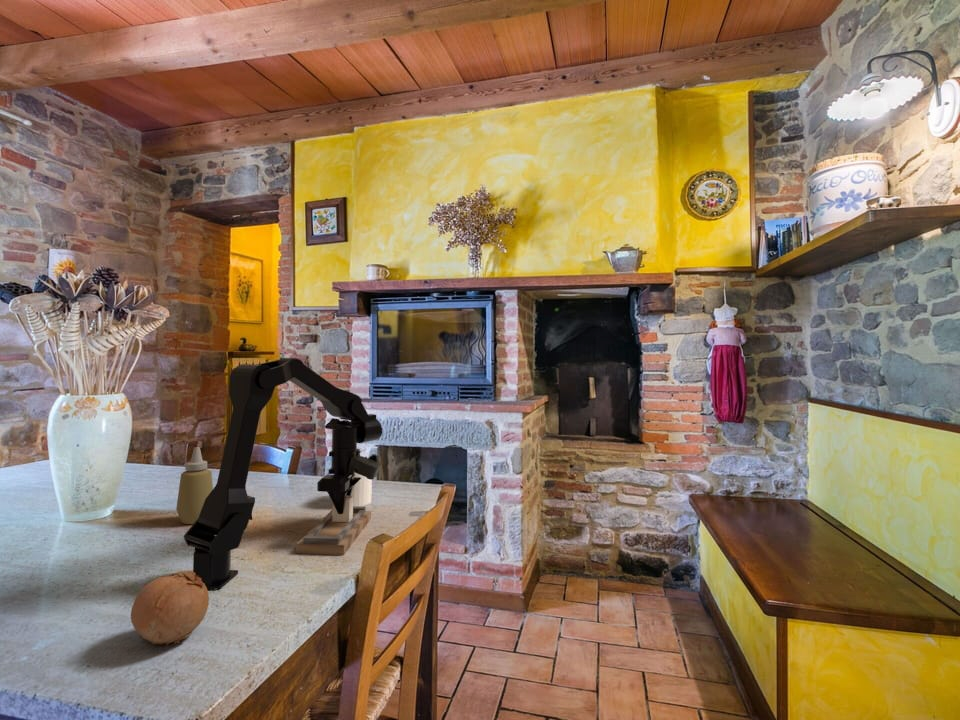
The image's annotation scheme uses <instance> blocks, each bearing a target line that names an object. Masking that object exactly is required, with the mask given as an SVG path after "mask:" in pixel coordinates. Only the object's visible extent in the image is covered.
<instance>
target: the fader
mask: <svg viewBox="0 0 960 720" xmlns="http://www.w3.org/2000/svg"><path fill="white" fill-rule="evenodd" d="M352 518H353V496H346V501H345V507H344V512H343V514H338V512H337V510H336V508H335V506H334V504H333V503H332V522H350V521H351V519H352Z"/></svg>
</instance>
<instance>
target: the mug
mask: <svg viewBox="0 0 960 720" xmlns="http://www.w3.org/2000/svg"><path fill="white" fill-rule="evenodd" d="M354 475H356V477H359V478H361V479H360V480H359V481H358V482H357V483H356V484H355V485H354V487H353V491H352V494H351V496H353V506H357V507H367V506H369V505H370V504H371V503H372V493H373V492H372V491H373V490H372V489H373V486H372V485H373V483H372V482H373V480H370V479H367V478H366V477H365V476H362V475H360V474H357V473H354Z"/></svg>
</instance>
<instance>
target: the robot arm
mask: <svg viewBox="0 0 960 720" xmlns="http://www.w3.org/2000/svg"><path fill="white" fill-rule="evenodd" d="M289 381H290V382H291V383H293V384H294V385H296V386H297V387H299V389H302V390H303V391H305V392H306V393H308V394H309V395H310V396H313V397H314V398H315V399H317V400H318V401H319V402H320V403H321V404H322V405H321V406H322V407H323V409H324V410H325V411H326V413H328V414H329V415H331V416H332V417H334V418H331V419H330V421H329V422H327V423H326V424H325V425H324V428H325V429H327V430H331V431H332V432H331V436H332V437H331V450H330V451H328V457H331V466H330V467H331V468H329V469H328V474H326V475H324V476H323V477H322V478H320V480H318V481H317V487H316V490H317V492H324V493H325V492H326V493H327V495H328V496H329V498H330V499H331V502H332V505H333V504H334V506H335V508H336V510H337V512H338V514H343V512H344V507H345V501H346V496H351V494H352V491H353V487H354V485H355V484H356V483H357V482H358V481H359V480H360V479H361V478H359V477H356V475H354V473H357V474H360V475H362V476H365V477H366V478H367V479H370V480H372V481H373V480H374V479H375V478H376V477H377V475H378V473H379V471H380V468H381V465H382V463H381V461H380V459H379V455H377V454H374V453H373V454H371V455H370V456H369V457H367V456H363V455H361V450H360V449H359V448H358V446H357V445H358V444H364V443H369V442H374V441H377V440H379V439H380V438H381V437H382V435H383V427H382V425H381V422H380V421H379V420H378V419H377V414H373V413H368V412H367V410H366V409H365V406H364V404H363V403H362V401H363V400H362V397H360V395H358V394H356V393H353V392H351V391H348V390H345V389H342V388H339V387H336V386H335V385H334V384H332V383H331V382H330V381H328V380H326V378H324V377H323V376H322V375H320V374H319V373H317V372H315V371H314V370H313V369H311V368H310V367H308V366H307V365H306V364H305V363H304V362H303V361H302V360H301V359H299V358H298V357H297V358H296V357H282V358H279V359H276V360H271V361H268V362H261V363H257V364H255V363H252V364H251V363H242V364H238V365H237V366H236V367H234V368H232V370H231V371H230V374H229V383H228V396H229V397H230V402H231V405H232V410H231V411H232V412H231V415H230V421H229V425H228V426H229V427H228V429H227V435H226V440H225V444H224V447H223V449H224V450H223V454H222V459H221V462H220V468H219V473H218V477H217V481H216V485H215V486H213V490H212V491H211V492H210V494H209V495H208V496H207V498H206V499H205V502H204V504H203V507H202V509H201V512H200V515H199V518H198V519H197V520H196V521H195V523H194V524H191V527H189V529H188V530H187V531H186V533H185V534H184V535H183V539H184V543H185V544H186V546H187V547H191V548H194V549H193V550H194V551H193V553H192V555H193V558H192V559H193V560H192V561H193V562H192V571H193V572H195V574H196V575H198V577H200V578H202V579H201V581H202V582H203V583H204V584H205V586H206V588H207V590H208V589H209V590H220V589H222V588H223V587H224V586H225V585H226V584H228V583H229V581H231V580H232V579H234V577H236V576H237V575H238V574H239V570H237V569H231V561H232V560H231V558H232V557H231V556H232V550H235V549H238V548H239V547H240V544H241V541H242V538H243V535H244V532H245V531H246V529H247V528H248V525H249V521H252V520H253V509H254V507H255V504H256V497H254V496H251V495H248V492H247V487H246V486H247V480H248V475H249V471H250V468H251V467H250V466H251V461H252V457H253V452H254V447H255V441H256V437H257V432H258V427H259V423H260V418H261V417H260V416H261V413H262V411H263V409H264V408H265V407H266V405H267V404H268V403H269V402H270V401H271V399H272V397H273V394H274V391H275V389H276V387H277V386H280V385H283V384H286V383H287V382H289Z"/></svg>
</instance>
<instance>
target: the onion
mask: <svg viewBox="0 0 960 720" xmlns="http://www.w3.org/2000/svg"><path fill="white" fill-rule="evenodd" d="M201 579H202V578H200V577H198V575H196V574H195V572H193V570H183V571H178V572H174V573H172V574H171V573H170V574H169V575H168V574H167V575H162V576H161V577H157V578H155V579H153V580H152V581H150V582H148V583H146V585H145V586H143V588H142V589H141V590H140V591H139V592H138V594H137V596H136V597H135V599H134V601H133V604H132V606H131V611H130V620H131V624H132V626H133V628H134V630H135V631H136V632H137V634H139V638H142V639H145V640H146V641H147V642H148V643H150V644H152V645H164V644H165V645H166V646H168V645H169V644H170V643H174V644H177V643H178V644H179V643H180V641H182V640H183V639H186V638H187V637H189V636H190V635H191V634H193V631H194V630H195V629H196V628H197V627H198V626H199V625H200V624H201V622H202V621H203V620H204V619H205V616H206V614H207V611H208V609H209V608H208V607H209V604H210V603H209V601H210V596H209V591H208V589H207V588H206V586H205V584H204V583H203V582H202V581H201Z"/></svg>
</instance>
